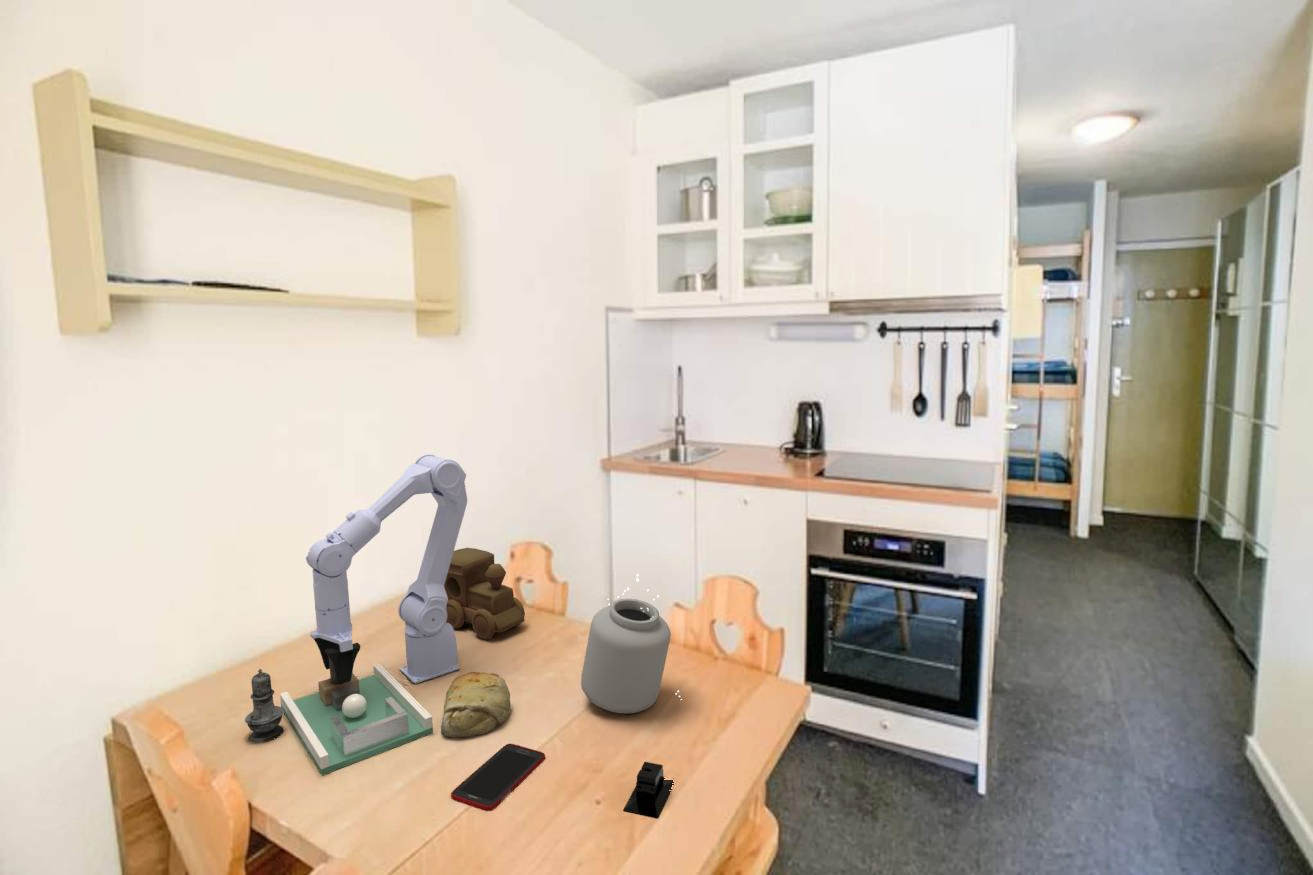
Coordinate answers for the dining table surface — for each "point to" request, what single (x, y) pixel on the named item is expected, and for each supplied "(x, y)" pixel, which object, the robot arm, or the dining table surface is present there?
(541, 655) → the dining table surface
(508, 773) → the cell phone
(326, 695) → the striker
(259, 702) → the salt shaker
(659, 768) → the black stepped block
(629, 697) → the jar
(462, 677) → the pastry
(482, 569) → the wooden toy train
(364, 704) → the ball
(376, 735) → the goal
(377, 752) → the pitch
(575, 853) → the dining table surface
